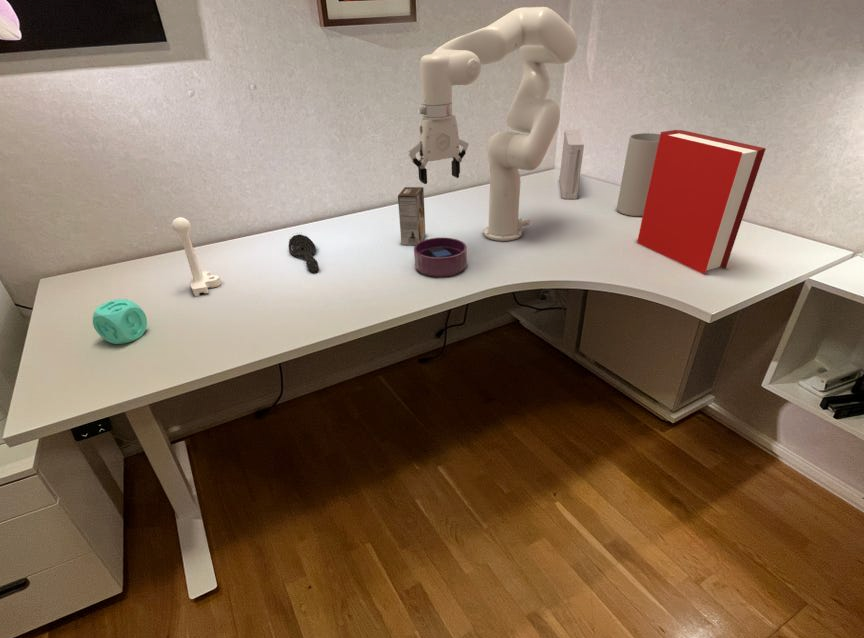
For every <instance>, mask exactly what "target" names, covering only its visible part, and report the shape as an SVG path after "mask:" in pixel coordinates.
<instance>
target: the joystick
mask: <svg viewBox="0 0 864 638" xmlns="http://www.w3.org/2000/svg"><path fill="white" fill-rule="evenodd" d="M191 228H192V226H191V223H190V221H189V220H188V219H187V218H185V217H181V216H180V217H176V218H174V219H173V220H172V223H171V229H172V230H173V231H174V233H176V234H177V235H178V236H179V238H180V240H181V242H182V245H183V249H184V252H185V256H186V259H187V262H188V265H189V269H190V273H191V275H192V278H191V279H190V287H191V290H192V294H193V295H194V297H200V296H201V295H200V294H201V293H203V294H208V293H209V289H210V288H211V289H213V288H218V287H219V286H220V285H221V283H222V281H221V278H220V276H219V275H217V274H211V272H210V270H204V271H202V269H201V266H200V264H199V260H198V258H197V255H196V251H195V249H194V247H193V244H192V241H191V238H190V235H189V234H190V232H191Z"/></svg>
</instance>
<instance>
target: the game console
mask: <svg viewBox="0 0 864 638" xmlns="http://www.w3.org/2000/svg"><path fill="white" fill-rule="evenodd" d="M562 142H563V143H562V151H561V152H562V153H561V162H560V171H559V176H558V177H559V185H560V193H561V198H562V199H565V200H569V199H570V200H577V199H578V194H579V186H580V179H581V170H582V163H583V157H584V148H585V144H584V141H583V138H582V135H581V131H580V129H564V132H563V141H562Z"/></svg>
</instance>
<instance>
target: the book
mask: <svg viewBox="0 0 864 638" xmlns="http://www.w3.org/2000/svg"><path fill="white" fill-rule="evenodd" d="M659 134H660V138H659V143H658V148H657V152H656V157H655V162H654V166H653V171H652V175H651V180H650V185H649V189H648V194H647V199H646V203H645V208H644V212H643V216H641V217H642V218H641V222H640V227H639V232H638V235H637V241H636V243H637V244H639V245H641V246H644V247H645V248H647V249H650V250H652V251H654V252H656V253H657V254H659V255H662V256H664V257H666V258H668V259H670V260H673V261H674V262H677V263H679V264H681V265H683V266H685V267H688V268H690V269H691V270H693V271H696V272H698V273H700V274H702V275H706V271H711V270H715V269H717V268H722V269H725V270H726V269H727V266H728V263H729V260H730V258H731V254H732V251H733V248H734V245H735V242H736V239H737V236H738V233H739V230H740V227H741V224H742V222H743V221H742V220H743V218H744V216H745V212H746V209H747V206H748V203H749V200H750V197H751V194H752V192H753V188H754V186H755V181H756V180H757V177H758V173H759V171H760V168H761V164H762V161H763V158H764V155H765V152H766V149H767V148H766V147H762V146H757V145H752V144H749V143H743V142H739V141H734V140H730V139H725V138H721V137H715V136H711V135H706V134H702V133H698V132H692V131H689V130H688V131H687V130H685V129H684V130H683V129H673V130H666V131H661V132H660V133H659Z"/></svg>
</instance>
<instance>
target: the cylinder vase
mask: <svg viewBox="0 0 864 638" xmlns="http://www.w3.org/2000/svg"><path fill="white" fill-rule="evenodd" d="M660 134H661V133H653V132H640V133H633V134H630V135H629V139H628V143H627V149H626V155H625V160H624V166H623V172H622V177H621V181H620V182H621V183H620V189H619V193H618V199H617V204H616V210H617V211H618V213H620V214H622V215H626V216H629V217H643V212H644V208H645V203H646V199H647V194H648V189H649V185H650V180H651V175H652V171H653V166H654V162H655V157H656V152H657V148H658V143H659V138H660Z"/></svg>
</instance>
